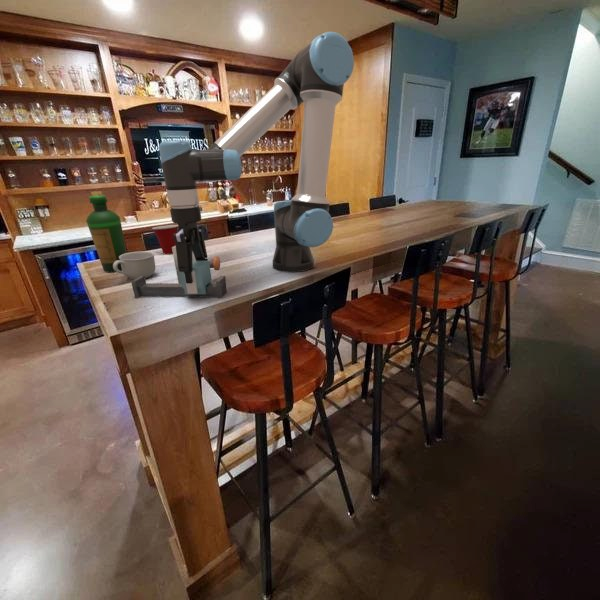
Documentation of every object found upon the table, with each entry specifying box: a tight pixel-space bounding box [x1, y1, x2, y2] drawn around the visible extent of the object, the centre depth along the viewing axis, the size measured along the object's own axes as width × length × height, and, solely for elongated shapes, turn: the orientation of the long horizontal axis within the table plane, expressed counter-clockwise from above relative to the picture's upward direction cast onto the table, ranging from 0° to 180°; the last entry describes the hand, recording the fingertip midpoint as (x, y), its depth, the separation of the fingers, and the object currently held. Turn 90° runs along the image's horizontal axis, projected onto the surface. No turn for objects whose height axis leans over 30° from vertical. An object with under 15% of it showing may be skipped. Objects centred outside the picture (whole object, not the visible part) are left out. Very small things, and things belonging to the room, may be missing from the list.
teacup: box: [113, 250, 156, 280], centre depth 109 cm, size 14×11×8 cm
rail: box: [130, 275, 228, 299], centre depth 93 cm, size 26×5×5 cm, turn 85°
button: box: [207, 255, 221, 271], centre depth 102 cm, size 6×4×4 cm
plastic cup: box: [151, 224, 178, 255], centre depth 141 cm, size 11×11×12 cm
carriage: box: [179, 261, 213, 294], centre depth 91 cm, size 6×7×8 cm
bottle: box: [85, 190, 127, 273], centre depth 115 cm, size 11×11×28 cm
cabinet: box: [172, 246, 196, 283], centre depth 103 cm, size 7×6×12 cm
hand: (198, 288), depth 92 cm, fingers closed on carriage, 7 cm apart
